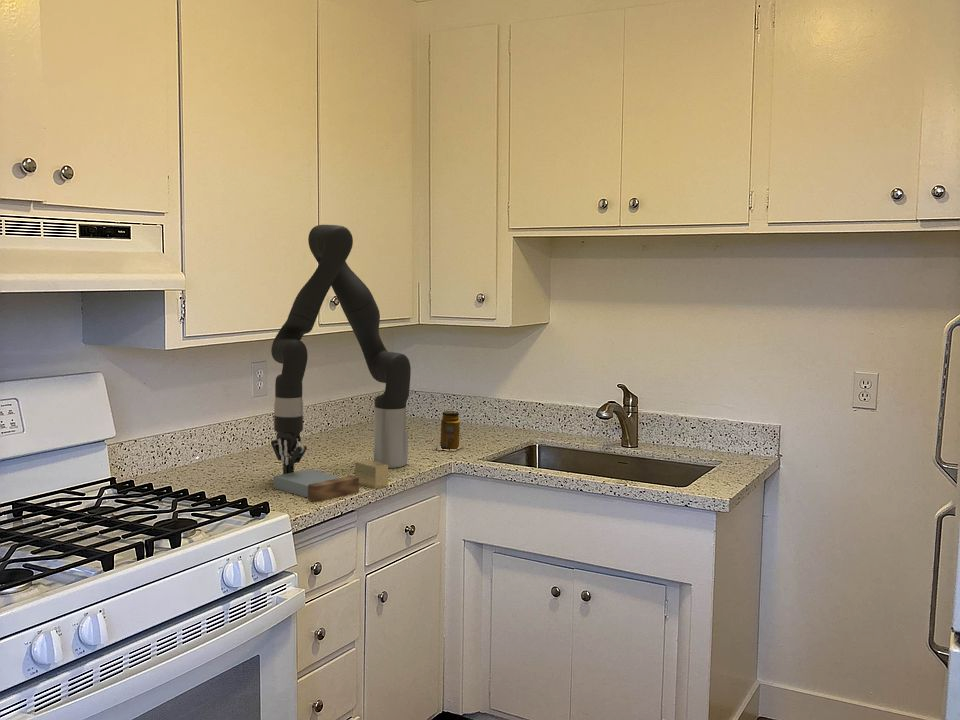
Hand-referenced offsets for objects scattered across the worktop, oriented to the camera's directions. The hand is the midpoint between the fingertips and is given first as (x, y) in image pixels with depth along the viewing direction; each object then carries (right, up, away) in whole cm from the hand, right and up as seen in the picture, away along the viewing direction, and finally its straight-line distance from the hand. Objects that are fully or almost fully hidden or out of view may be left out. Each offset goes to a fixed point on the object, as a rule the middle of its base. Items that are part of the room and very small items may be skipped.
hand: (288, 477), depth 239 cm
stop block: (+14, -3, -12) cm, 19 cm away
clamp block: (+22, -2, +1) cm, 22 cm away
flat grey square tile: (+7, -2, -6) cm, 9 cm away
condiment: (+41, +2, +50) cm, 65 cm away
